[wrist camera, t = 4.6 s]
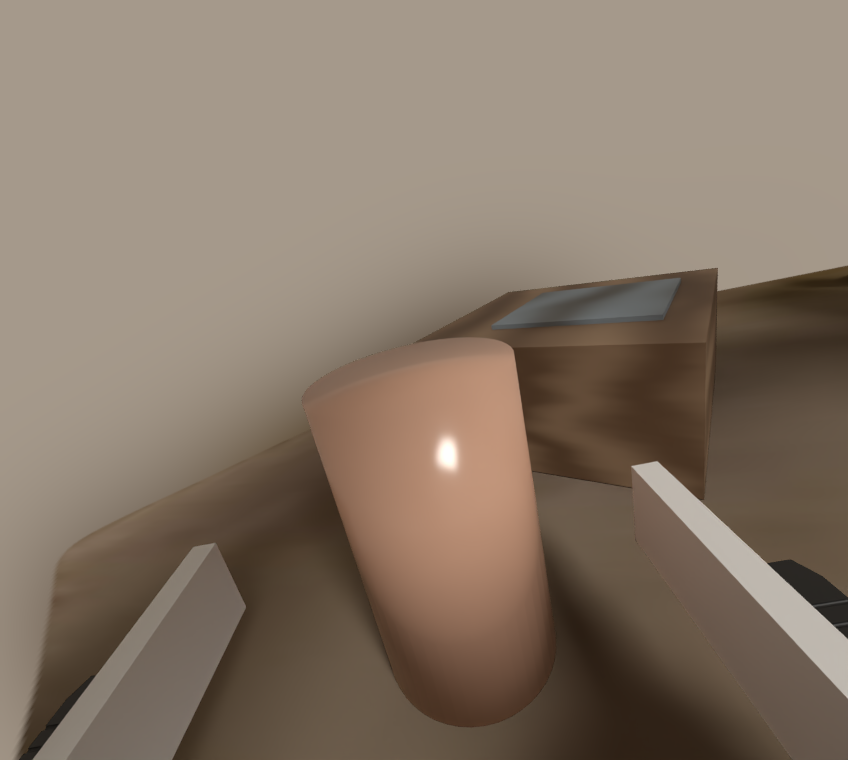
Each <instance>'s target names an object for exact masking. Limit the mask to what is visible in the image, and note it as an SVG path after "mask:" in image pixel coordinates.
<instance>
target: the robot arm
mask: <svg viewBox="0 0 848 760" xmlns="http://www.w3.org/2000/svg"><path fill="white" fill-rule="evenodd" d="M631 471H632V489H633V507H634V525H635V540H636V542H637V543H638V544H639V546H640V547H641V549H642V550H643V551H644V553H645V554H646V556H647V557H648V558H649V560H650V561H651V563H652V564H653V565H654V567H655V568H656V570H657V571H658V572H659V574H660V575H661V577H662V578H663V579H664V581H665V582H666V584H667V585H668V586H669V588H670V589H671V591H672V592H673V593H674V595H675V596H676V598H677V599H678V600H679V602H680V603H681V605H682V606H683V607H684V609H685V610H686V612H687V613H688V614H689V616H690V617H691V619H692V620H693V621H694V623H695V624H696V626H697V627H698V628H699V630H700V631H701V633H702V634H703V635H704V637H705V638H706V640H707V641H708V642H709V644H710V645H711V647H712V648H713V649H714V651H715V652H716V654H717V655H718V656H719V658H720V659H721V661H722V662H723V663H724V665H725V666H726V668H727V669H728V670H729V672H730V673H731V675H732V676H733V677H734V679H735V680H736V682H737V683H738V684H739V686H740V687H741V689H742V690H743V691H744V693H745V694H746V696H747V697H748V699H749V700H750V701H751V703H752V704H753V706H754V707H755V708H756V710H757V711H758V713H759V714H760V715H761V717H762V718H763V720H764V721H765V722H766V724H767V725H768V727H769V728H770V729H771V731H772V732H773V734H774V735H775V736H776V738H777V739H778V741H779V742H780V743H781V745H782V746H783V748H784V749H785V750H786V752H787V753H788V755H789V756H790V757H791V759H792V760H848V597H847V596H845V595H844V594H843V593H842V592H841V591H839V590H838V589H837V588H836V587H835V586H833V585H832V584H831V583H830V582H829V581H827V580H826V579H825V578H824V577H823V576H821V575H819V574H817V573H815V572H813V571H811V570H810V569H808V568H806V567H804V566H802V565H800V564H798V563H796V562H794V561H793V560H791V559H790V560H784V561H778V562H772V563H766V562H765V561H764V560H763V559H761V558H760V557H759V556H758V555H757V554H756V553H755V552H754V551H753V550H752V549H751V548H750V547H749V546H748V545H747V544H745V543H744V542H743V541H742V540H741V539H740V538H739V537H738V536H737V535H736V534H735V533H734V532H733V531H732V530H730V529H729V528H728V527H727V526H726V525H725V524H724V523H723V522H722V521H721V520H720V519H719V518H718V517H717V516H715V515H714V514H713V513H712V512H711V511H710V510H709V509H708V508H707V507H706V506H705V505H704V504H703V503H702V502H700V501H699V500H698V499H697V498H696V497H695V496H694V495H693V494H692V493H691V492H690V491H689V490H688V489H687V488H685V487H684V486H683V485H682V484H681V483H680V482H679V481H678V480H677V479H676V478H675V477H674V476H673V475H672V474H670V473H669V472H668V471H667V470H666V469H665V468H664V467H663V466H662V465H661V464H660V463H659V462H658V461H656V462H651V463H645V464H640V465H634V466H631ZM245 608H246V605H245V603H244V601H243V599H242V597H241V595H240V593H239V591H238V589H237V586H236V584H235V582H234V580H233V578H232V576H231V574H230V572H229V570H228V567H227V565H226V563H225V561H224V559H223V557H222V555H221V553H220V551H219V548H218V546H217V544H216V543H212V544H206V545H201V546H196V547H193V548H192V549H191V551H190V552H189V553H188V555H187V556H186V557H185V559H184V560H183V561H182V563H181V564H180V565H179V567H178V568H177V569H176V571H175V572H174V573H173V574H172V576H171V577H170V578H169V580H168V581H167V582H166V584H165V585H164V586H163V588H162V589H161V590H160V592H159V593H158V594H157V596H156V597H155V598H154V600H153V601H152V602H151V604H150V605H149V606H148V608H147V609H146V610H145V612H144V613H143V614H142V616H141V617H140V618H139V619H138V621H137V622H136V623H135V625H134V626H133V627H132V629H131V630H130V631H129V633H128V634H127V635H126V637H125V638H124V639H123V641H122V642H121V643H120V645H119V646H118V647H117V649H116V650H115V651H114V653H113V654H112V655H111V657H110V658H109V659H108V661H107V662H106V663H105V664H104V666H103V667H102V668H101V670H100V671H99V672H98V674H97V675H94V676H91V677H90V678H89V679H88V680H87V681H85V682H84V683H83V684H82V685H81V686H80V687H79V688H78V689H77V690H76V691H75V692H74V693H73V694H72V695H71V696H70V697H68V698H67V699H66V701H65V702H64V703H63V704H62V706H61V707H60V708H59V710H58V711H57V712H56V713H55V715H54V716H53V717H52V719H51V720H50V721H49V722H48V724H47V725H46V729H45V730H44V731H41V733H40V734H39V735H38V736H37V738H36V739H35V740H34V742H33V743H32V744H31V745H30V747H29V748H28V749H29V750H28V752H27V753H26V754H23V756H22V757H21V758H20V759H19V760H172V759H173V757H174V755H175V753H176V751H177V748H178V746H179V744H180V742H181V740H182V738H183V736H184V734H185V732H186V730H187V728H188V726H189V724H190V722H191V720H192V718H193V716H194V713H195V711H196V709H197V707H198V705H199V703H200V701H201V699H202V697H203V695H204V693H205V691H206V689H207V687H208V685H209V683H210V681H211V678H212V676H213V674H214V672H215V670H216V668H217V666H218V664H219V662H220V660H221V658H222V656H223V654H224V652H225V650H226V648H227V646H228V643H229V641H230V639H231V637H232V635H233V633H234V631H235V629H236V627H237V625H238V623H239V621H240V619H241V617H242V615H243V613H244V611H245Z"/></svg>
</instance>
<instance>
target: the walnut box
mask: <svg viewBox="0 0 848 760" xmlns="http://www.w3.org/2000/svg"><path fill="white" fill-rule="evenodd" d="M717 276H718V268H712V269H704V270H696V271H687V272H679V273H670V274H661V275H652V276H644V277H635V278H627V279H618V280H609V281H601V282H592V283H584V284H576V285H567V286H558V287H550V288H541V289H532V290H524V291H515V292H508V293H506V294H504V295H503V296H501V297H499V298H497V299H495V300H493V301H491V302H490V303H488V304H486V305H484V306H482V307H480V308H478V309H476V310H474V311H473V312H471V313H469V314H467V315H465V316H463V317H461V318H459V319H458V320H456V321H454V322H452V323H450V324H448V325H446V326H445V327H443V328H441V329H439V330H437V331H435V332H433V333H432V334H430V335H428V336H426V337H424V338H422V339H420V340H418V341H416V342H415V343H419V342H425V341H431V340H438V339H447V338H463V337H475V338H488V339H494V340H498V341H502V342H504V343H506V344H508V345H509V346H511V348H512V349H513V350H514V356H515V363H516V369H517V376H518V383H519V390H520V396H521V403H522V410H523V417H524V423H525V430H526V437H527V444H528V450H529V457H530V464H531V471H535V472H541V473H547V474H553V475H559V476H565V477H571V478H577V479H583V480H589V481H595V482H601V483H607V484H613V485H619V486H625V487H631V488H632V471H631V466H634V465H640V464H645V463H651V462H656V461H658V462H659V463H660V464H661V465H662V466H663V467H664V468H665V469H666V470H667V471H668V472H669V473H670V474H672V475H673V476H674V477H675V478H676V479H677V480H678V481H679V482H680V483H681V484H682V485H683V486H684V487H685V488H687V489H688V490H689V491H690V492H691V493H692V494H693V495H694V496H695V497H696V498H697V499H703V500H704V494H705V483H706V472H707V460H708V449H709V437H710V426H711V415H712V403H713V392H714V380H715V369H716V325H717ZM413 344H414V343H413Z"/></svg>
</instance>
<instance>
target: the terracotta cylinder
mask: <svg viewBox="0 0 848 760" xmlns="http://www.w3.org/2000/svg"><path fill="white" fill-rule="evenodd" d="M302 404H303V407H304V410H305V413H306V416H307V419H308V422H309V425H310V428H311V431H312V434H313V437H314V440H315V443H316V446H317V449H318V452H319V455H320V458H321V461H322V464H323V466H324V469H325V472H326V475H327V478H328V481H329V484H330V487H331V490H332V493H333V496H334V499H335V502H336V505H337V508H338V511H339V514H340V517H341V520H342V522H343V525H344V528H345V531H346V534H347V537H348V540H349V543H350V546H351V549H352V552H353V555H354V558H355V561H356V564H357V567H358V570H359V573H360V576H361V579H362V581H363V584H364V587H365V590H366V593H367V596H368V599H369V602H370V605H371V608H372V611H373V614H374V617H375V620H376V623H377V626H378V629H379V632H380V635H381V638H382V640H383V643H384V646H385V649H386V652H387V655H388V658H389V661H390V664H391V667H392V670H393V673H394V676H395V679H396V681H397V683H398V685H399V687H400V689H401V691H402V692H403V694H404V695H405V696H406V698H407V699H408V700H409V701H410V702H411V703H412V704H413V705H414V706H415V707H416V708H417V709H418V710H420V711H421V712H422V713H423V714H425V715H427V716H429V717H430V718H432V719H434V720H436V721H439V722H442V723H445V724H448V725H453V726H458V727H479V726H486V725H490V724H494V723H498V722H500V721H503V720H505V719H507V718H509V717H511V716H513V715H515V714H516V713H518V712H519V711H521V710H522V709H524V708H525V707H526V706H527V705H528V704H529V703H531V702H532V701H533V699H534V698H535V697H536V696H537V695H538V694H539V693H540V691H541V690H542V688H543V687H544V685H545V683H546V682H547V680H548V678H549V675H550V673H551V671H552V668H553V664H554V660H555V654H556V633H555V626H554V619H553V613H552V606H551V599H550V592H549V586H548V579H547V572H546V565H545V559H544V552H543V545H542V538H541V532H540V525H539V518H538V511H537V504H536V498H535V491H534V484H533V477H532V471H531V464H530V457H529V450H528V444H527V437H526V430H525V423H524V417H523V410H522V403H521V396H520V390H519V383H518V376H517V369H516V363H515V356H514V350H513V349H512V348H511V346H509V345H508V344H506V343H504V342H502V341H498V340H494V339H488V338H475V337H463V338H447V339H438V340H431V341H425V342H419V343H414V344H409V345H405V346H401V347H396V348H393V349H389V350H385V351H382V352H379V353H376V354H372V355H369V356H366V357H364V358H361V359H358V360H355V361H353V362H351V363H348V364H346V365H344V366H342V367H339V368H337V369H335V370H334V371H331V372H330V373H328V374H326V375H324V376H323V377H321V378H320V379H318V380H317V381H316V382H314V383H313V384H312V385H311V386H310V387H309V388H308V389H307V390H306V391H305V393H304V395H303V396H302Z"/></svg>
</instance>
